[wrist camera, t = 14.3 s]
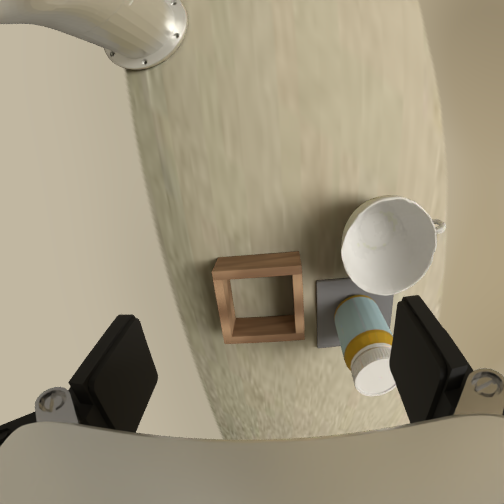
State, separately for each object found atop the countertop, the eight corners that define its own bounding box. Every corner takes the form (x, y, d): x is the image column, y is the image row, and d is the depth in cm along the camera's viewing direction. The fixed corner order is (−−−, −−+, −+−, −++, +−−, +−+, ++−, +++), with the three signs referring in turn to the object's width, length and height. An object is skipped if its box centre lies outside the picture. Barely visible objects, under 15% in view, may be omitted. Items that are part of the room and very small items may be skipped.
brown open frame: (218, 257, 46) (211, 271, 41) (298, 251, 45) (301, 265, 40) (229, 324, 50) (224, 343, 45) (302, 320, 49) (304, 339, 44)
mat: (316, 280, 46) (316, 281, 46) (394, 273, 45) (395, 274, 45) (317, 346, 50) (317, 348, 50) (387, 338, 49) (388, 340, 49)
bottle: (382, 320, 47) (411, 384, 33) (342, 337, 49) (359, 406, 35) (369, 285, 45) (401, 346, 31) (326, 304, 47) (343, 370, 33)
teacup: (341, 280, 46) (352, 308, 39) (321, 198, 42) (331, 213, 35) (432, 253, 44) (456, 275, 36) (421, 172, 40) (448, 182, 32)
